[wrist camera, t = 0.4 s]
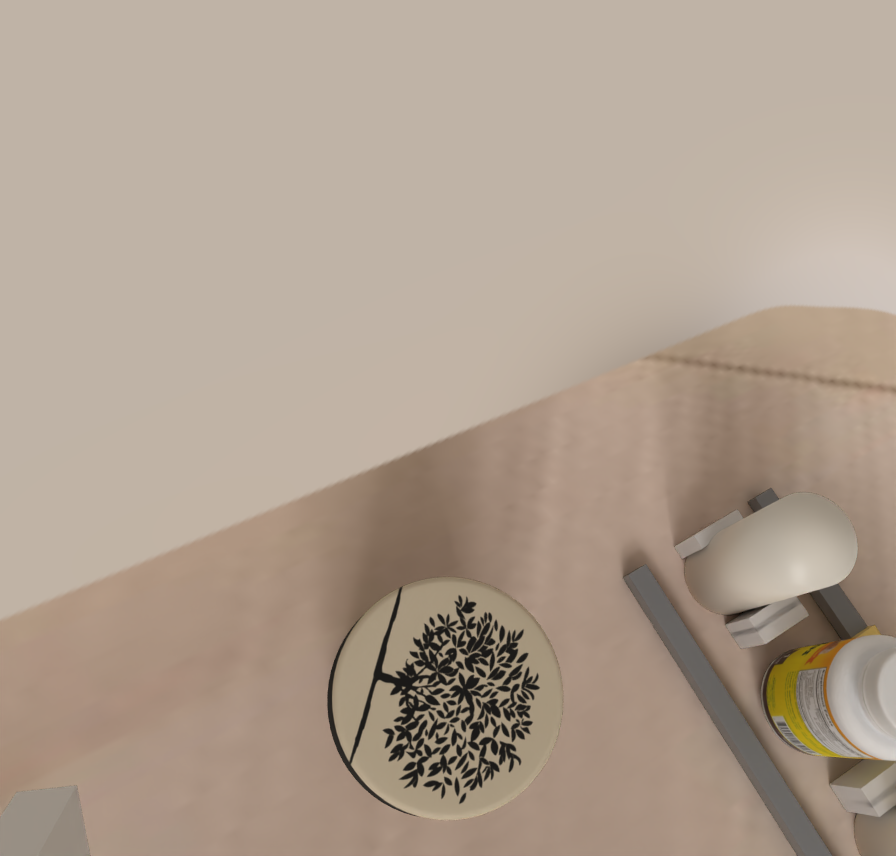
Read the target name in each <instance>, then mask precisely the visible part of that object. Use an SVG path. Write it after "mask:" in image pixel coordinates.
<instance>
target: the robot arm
mask: <svg viewBox="0 0 896 856" xmlns="http://www.w3.org/2000/svg"><path fill="white" fill-rule="evenodd" d="M0 856H90V851H89V846H88V841H87V836H86V830H85V825H84V820H83V815H82V809H81V804H80V799H79V794H78V788H77V786H68V787H58V788H49V789H40V790H31V791H22V792H16V794H15V795H14V797H13V798H12V800H11V801H10V803H9V804H8V806H7V807H6V809H5V810H4V812H3V814H2V815H1V817H0Z"/></svg>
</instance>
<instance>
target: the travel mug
mask: <svg viewBox="0 0 896 856" xmlns="http://www.w3.org/2000/svg"><path fill="white" fill-rule="evenodd" d="M562 714H563V685H562V677H561V673H560V668H559V664H558V661H557V658H556V655H555V652H554V650H553V648H552V645H551V643H550V641H549V639H548V638H547V636H546V634H545V632H544V631H543V629H542V628H541V626H540V625H539V624H538V622H537V621H536V620H535V619H534V617H533V616H532V615H531V614H530V613H529V612H528V611H527V610H526V609H525V608H524V607H523V606H522V605H521V604H519V603H518V602H517V601H516V600H514V599H513V598H512V597H510V596H509V595H507V594H506V593H504V592H502V591H500V590H499V589H497V588H494V587H492V586H490V585H488V584H485V583H482V582H479V581H475V580H471V579H466V578H458V577H436V578H429V579H424V580H420V581H416V582H413V583H410V584H408V585H405V586H402V587H400V588H398V589H396V590H394V591H393V592H391V593H389V594H388V595H386V596H385V597H383V598H382V599H381V600H379V601H378V602H377V603H375V604H374V605H373V606H372V607H371V608H370V609H369V610H368V611H367V612H366V613H365V614H364V615H363V616H362V617H361V618H360V619H359V620H358V621H357V622H356V624H355V625H354V626H353V627H352V629H351V630H350V631H349V633H348V634H347V636H346V637H345V639H344V641H343V643H342V644H341V646H340V648H339V650H338V653H337V655H336V658H335V660H334V663H333V667H332V670H331V674H330V679H329V686H328V717H329V723H330V729H331V732H332V736H333V739H334V742H335V745H336V747H337V750H338V752H339V754H340V756H341V758H342V760H343V762H344V763H345V765H346V767H347V768H348V770H349V771H350V773H351V774H352V775H353V776H354V778H355V779H356V780H357V781H358V782H359V783H360V784H361V785H362V787H363V788H364V789H365V790H367V791H368V792H369V793H370V794H371V795H373V796H374V797H375V798H377V799H378V800H380V801H381V802H383V803H384V804H386V805H388V806H390V807H392V808H394V809H396V810H399V811H401V812H404V813H407V814H410V815H414V816H419V817H424V818H428V819H436V820H461V819H468V818H472V817H477V816H480V815H483V814H486V813H489V812H491V811H493V810H496V809H498V808H500V807H501V806H503V805H505V804H507V803H508V802H510V801H511V800H513V799H514V798H515V797H517V796H518V795H519V794H520V793H521V792H523V791H524V790H525V789H526V788H527V787H528V786H529V785H530V784H531V783H532V782H533V780H534V779H535V778H536V777H537V775H538V774H539V773H540V771H541V770H542V769H543V767H544V765H545V764H546V762H547V760H548V759H549V757H550V755H551V752H552V750H553V748H554V746H555V743H556V740H557V737H558V734H559V730H560V726H561V720H562Z"/></svg>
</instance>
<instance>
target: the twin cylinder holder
mask: <svg viewBox="0 0 896 856" xmlns="http://www.w3.org/2000/svg"><path fill="white" fill-rule="evenodd" d="M748 503H749V505H750V506H751V508H752V509H753V511H754V512H755V513H753V514H751V515H749V516H747V517H745V518H743V517H742V515H741V514H740V512H739V511H738V509H737V510H735V511H733V512H732V513H730V514H728V515H726V516H724V517H723V518H721V519H719V520H717V521H716V522H714V523H712V524H711V525H709V526H707V527H706V528H704V529H702V530H701V531H699V532H697V533H696V534H694V535H693V536H691V537H689V538H688V539H686V540H684V541H683V542H681V543H679V544H678V545H676V546H674V547H675V549H676V550H677V552H678V553H679V555H680V556H681V558H682V559H683V558H685V557H687V558H686V562H685V568H684V575H685V581H686V584H687V587H688V589H689V591H690V593H691V595H692V596H693V597H694V599H695V600H696V601H697V602H698V603H699V604H700V605H701V606H703V607H704V608H706V609H707V610H709V611H711V612H714V613H717V614H722V615H732V614H737V613H740V612H744V611H746V612H744V613H743V614H741V615H739V616H738V617H736V618H735V619H733V620H732V621H730V622H729V623H727V624H726V627H727V629H728V630H729V632H730V633H731V635H732V636H733V638H734V639H735V641H736V642H737V644H738V645H739V647H740V648H741V649H744V648H749V647H754V646H759V645H764V644H767V643H768V642H770V641H771V640H773V639H774V638H776V637H777V636H779V635H780V634H782V633H783V632H785V631H786V630H788V629H789V628H791V627H792V626H794V625H795V624H797V623H798V622H800V621H801V620H803V619H804V618H806V617H807V616H809V614H808V612H807V611H806V609H805V608H804V606H803V605H802V604H801V602H800V601H799V599H798V598H797V596H799V595H802V594H805V593H809V592H810V594H811V595H812V597H813V598H814V600H815V601H816V603H817V604H818V606H819V607H820V608H821V610H822V611H823V613H824V614H825V616H826V617H827V619H828V620H829V622H830V623H831V625H832V626H833V627H834V629H835V630H836V632H837V633H838V635H839V636H840V638H841V639H842V640H845V639H851V638H856V637H861V636H868V635H881V634H880V632H879V631H878V629H877V628H876V626H875V625H873V626H867V625H866V624H865V622H864V621H863V619H862V618H861V616H860V615H859V614H858V612H857V611H856V609H855V608H854V606H853V605H852V603H851V602H850V601H849V599H848V598H847V596H846V595H845V593H844V592H843V590H842V589H841V588H840V586H839V585H838V583H839V582H841V581H842V580H843V579H845V578H846V577H847V576H848V575H849V573H850V572H851V570H852V569H853V567H854V565H855V562H856V559H857V553H858V543H857V537H856V533H855V530H854V527H853V525H852V523H851V521H850V520H849V518H848V517H847V515H846V514H845V513H844V511H843V510H842V509H841V508H840V507H839V506H837V505H836V504H835V503H834V502H832V501H831V500H829V499H827V498H825V497H823V496H821V495H818V494H814V493H809V492H798V493H793V494H790V495H787V496H785V497H783V498H781V499H779V498H778V497H777V496H776V494H775V493H774V491H773V490H772V488H770V489H769V490H767V491H765V492H763V493H762V494H760V495H758V496H757V497H755V498H753V499H752V500H750V501H748ZM623 579H624V580H625V582H626V584H627V585H628V587H629V588H630V590H631V592H632V593H633V595H634V596H635V598H636V599H637V601H638V603H639V604H640V606H641V607H642V609H643V611H644V612H645V614H646V615H647V617H648V619H649V620H650V622H651V623H652V625H653V627H654V628H655V630H656V631H657V633H658V634H659V636H660V638H661V639H662V641H663V642H664V644H665V646H666V647H667V649H668V650H669V652H670V654H671V655H672V657H673V658H674V660H675V662H676V663H677V665H678V666H679V668H680V669H681V671H682V673H683V674H684V676H685V677H686V679H687V681H688V682H689V684H690V685H691V687H692V689H693V690H694V692H695V693H696V695H697V696H698V698H699V700H700V701H701V703H702V704H703V706H704V708H705V709H706V711H707V712H708V714H709V716H710V717H711V719H712V720H713V722H714V724H715V725H716V727H717V728H718V730H719V731H720V733H721V735H722V736H723V738H724V739H725V741H726V743H727V744H728V746H729V747H730V749H731V751H732V752H733V754H734V755H735V757H736V759H737V760H738V762H739V763H740V765H741V766H742V768H743V770H744V771H745V773H746V774H747V776H748V778H749V779H750V781H751V782H752V784H753V786H754V787H755V789H756V790H757V792H758V794H759V795H760V797H761V798H762V800H763V801H764V803H765V805H766V806H767V808H768V809H769V811H770V813H771V814H772V816H773V817H774V819H775V821H776V822H777V824H778V825H779V827H780V828H781V830H782V832H783V833H784V835H785V836H786V838H787V840H788V841H789V843H790V844H791V846H792V848H793V849H794V851H795V852H796V854H797V856H832V855H831V853H830V852H829V850H828V848H827V847H826V845H825V844H824V842H823V841H822V839H821V837H820V836H819V834H818V833H817V831H816V830H815V828H814V827H813V825H812V823H811V822H810V820H809V819H808V817H807V816H806V814H805V812H804V811H803V809H802V808H801V806H800V805H799V803H798V801H797V800H796V798H795V797H794V795H793V794H792V792H791V791H790V789H789V787H788V786H787V784H786V783H785V781H784V780H783V778H782V776H781V775H780V773H779V772H778V770H777V769H776V767H775V765H774V764H773V762H772V761H771V759H770V758H769V756H768V755H767V753H766V751H765V750H764V748H763V747H762V745H761V744H760V742H759V740H758V739H757V737H756V736H755V734H754V733H753V731H752V729H751V728H750V726H749V725H748V723H747V722H746V720H745V718H744V717H743V715H742V714H741V712H740V711H739V709H738V708H737V706H736V704H735V703H734V701H733V700H732V698H731V697H730V695H729V693H728V692H727V690H726V689H725V687H724V686H723V684H722V682H721V681H720V679H719V678H718V676H717V675H716V673H715V672H714V670H713V668H712V667H711V665H710V664H709V662H708V661H707V659H706V657H705V656H704V654H703V653H702V651H701V650H700V648H699V646H698V645H697V643H696V642H695V640H694V639H693V637H692V636H691V634H690V632H689V631H688V629H687V628H686V626H685V625H684V623H683V621H682V620H681V618H680V617H679V615H678V614H677V612H676V610H675V609H674V607H673V606H672V604H671V603H670V601H669V600H668V598H667V596H666V595H665V593H664V592H663V590H662V589H661V587H660V585H659V584H658V582H657V581H656V579H655V578H654V576H653V574H652V573H651V571H650V570H649V568H648V567H647V565H646V564H645V565H643V566H642V567H640V568H638V569H637V570H635V571H633V572H632V573H630V574H628V575H627V576H625V577H623ZM829 785H830V787H831V788H832V790H833V791H834V793H835V794H836V796H837V797H838V799H839V801H840V802H841V804H842V805H843V807H844V808H845V810H846V811H848V812H853V813H857V815H856V819H855V825H854V833H855V841H856V845H857V848H858V851H859V853H860V855H861V856H896V761H890V760H874V759H863V760H862V761H860V762H859V763H858V764H856V765H855V766H854V767H852V768H851V769H850V770H848V771H847V772H846V773H844V774H843V775H841V776H840V777H839V778H837V779H836V780H835V781H833V782H832V783H831V784H829Z"/></svg>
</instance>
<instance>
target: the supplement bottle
mask: <svg viewBox="0 0 896 856" xmlns="http://www.w3.org/2000/svg"><path fill="white" fill-rule="evenodd" d="M761 703H762V708H763V712H764V715H765V717H766V720H767V722H768V723H769V725H770V727H771V729H772V730H773V731H774V733H775V734H776V735H777V736H778V737H779V738H780V739H781V740H782V741H783V742H784V743H785V744H787V745H788V746H790V747H791V748H793V749H795V750H797V751H799V752H802V753H805V754H809V755H814V756H826V757H841V758H858V759H874V760H890V761H896V638H895V637H892V636H887V635H868V636H861V637H856V638H851V639H845V640H840V641H834V642H828V643H823V644H818V645H813V646H807V647H802V648H797V649H793V650H790V651H788V652H785V653H783V654H782V655H780V656H779V657H778V658H776V659H775V660H774V661H773V662H772V663H771V665H770V666H769V667H768V669H767V671H766V673H765V675H764V678H763V681H762V686H761Z"/></svg>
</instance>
